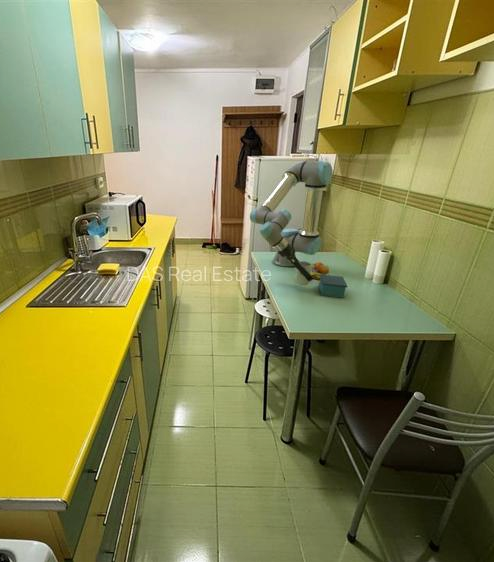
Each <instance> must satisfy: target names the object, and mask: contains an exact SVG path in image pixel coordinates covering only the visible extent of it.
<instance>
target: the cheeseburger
mask: <svg viewBox="0 0 494 562" xmlns="http://www.w3.org/2000/svg"><path fill="white" fill-rule="evenodd" d="M329 273H330V268H329V266H325V265H324V263H322V262H320V261H317V262H315V263H314V264H313V266H312V268H311V274H310V275H311V276H312V278H313V279H315V280H320V278H321V277H320V274H322V275H329Z"/></svg>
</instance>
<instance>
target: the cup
mask: <svg viewBox="0 0 494 562" xmlns="http://www.w3.org/2000/svg"><path fill="white" fill-rule="evenodd" d="M299 263H300V264H301V266H302V267H303V268H304V269H305V270H306V271H307V272H308V273H309V274H311V268H313V264H312V263H311V262H309V261H305V260H304V261H302V260H301V261H300V262H299ZM300 273H301V272H300V271H299V270H298V269H297V268H296V270H295V276H294V283H295V284H296V285H298V286H308V285H309V284H310V282H309V281H308V280H307V279H306V278H305V277H304V276H303V274H300Z"/></svg>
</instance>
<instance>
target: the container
mask: <svg viewBox="0 0 494 562" xmlns="http://www.w3.org/2000/svg"><path fill="white" fill-rule="evenodd" d="M320 277H321V278H320V279H319V284H318V288H319V291H320V295H321V296H325V297H326V296H327V297H334V298H345V293H346V290H347V289H346V288H348V285H347V282H346V280H345V278H344V276H339V275H329V274H326V275H322V274H320Z"/></svg>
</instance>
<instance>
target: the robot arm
mask: <svg viewBox="0 0 494 562" xmlns="http://www.w3.org/2000/svg"><path fill="white" fill-rule="evenodd" d="M332 179H333V167H332V164H331V163H330V162H328V161H323V160H321V161H319V160H300V161H298V162H296V163H294V164H293V165H291V166H290V167H288V168H287V169H286V170H285V171H284V173H283V174H282V176H281V180H280V181H279V182H278V184H277V185H276V186H275V187H274V189H273V190H272V191H271V192H270V193H269V195H268V196H267V197H266V199H265V200H264V201H263V203H262V204H261V206H260V207H259V208H253V209H252V210H251V211H250V213H249V220H250V222H251V223H254V224H257V225H261V226H260V228H259V230H258V232H259V234H260V236H262V238H263V239H264V240H265V241H266V242H267V243H268V244H269V245H270V246H271V248H272V250H274V251H275V252H276V253H275V254H274V257H273V261H272V263H273V265H276V266H279V267H284V268H293V267H295V268H296V269H298V270H299V271H300V272H301V273H300V274H303V276H304V277H305V278H306V279H307V280H308V281H309V283H310V282H311V281H312V280H313V279H314V278H312V276H311V275H310V274H309V273H308V272H307V271H306V270H305V269H304V268H303V267H302V266H301V264H300V263H299V262H301V261H300V260H299V259H298V258H297V257H296V252H298V253H302V254H305V255H309V256H314V255H315V254H317V253H318V252H319V250H320V248H321V246H322V243H323V239H322V237H321V236H320V232H319V231H318V227H319V226H318V225H319V219H320V214H321V213H320V212H321V206H322V200H323V193H324V192H323V191H324V190H325V189H326V188H327V185H329V184H330V183H331V182H332ZM298 183H304V188H306V195H305V203H304V204H305V205H304V212H303V220H302V226H301V227H302V228H301V230H299V229H297V228H286V227H287V226H288V225H289V223H290V222H291V220H292V214H291V211H289V210H287V209H284V208H283V209H280V210H279V211H278V212H275V211H276V209H277V208H278V206H280V204H281V203H282V201H283V200H284V198H285V197H286V196H287V195H288V193H290V191H291V189H292V188H293V187H295V186H297V185H298Z"/></svg>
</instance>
